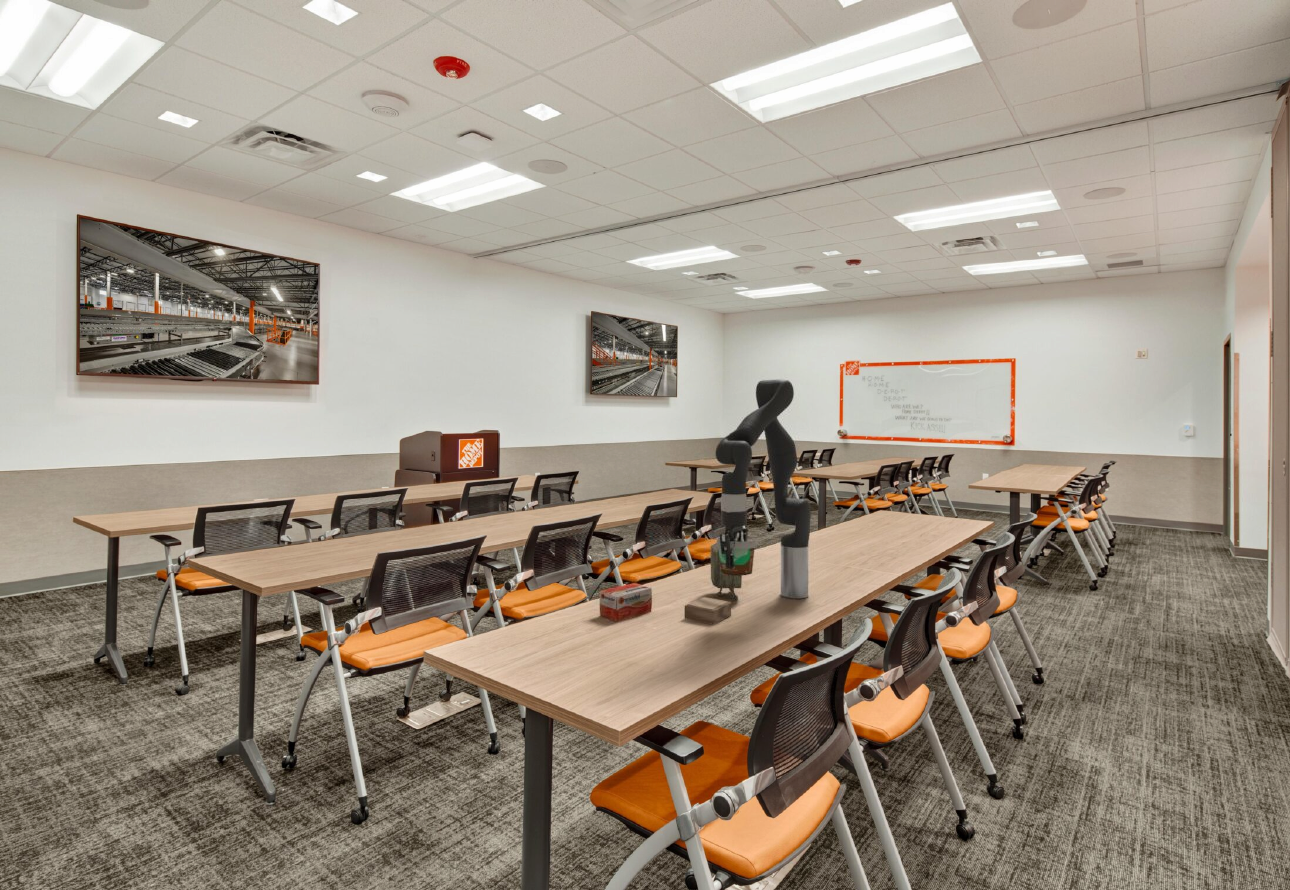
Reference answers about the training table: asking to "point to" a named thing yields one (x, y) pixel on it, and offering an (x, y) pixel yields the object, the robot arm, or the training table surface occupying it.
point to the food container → (738, 558)
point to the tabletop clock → (720, 578)
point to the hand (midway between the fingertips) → (734, 565)
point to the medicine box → (625, 601)
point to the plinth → (708, 610)
